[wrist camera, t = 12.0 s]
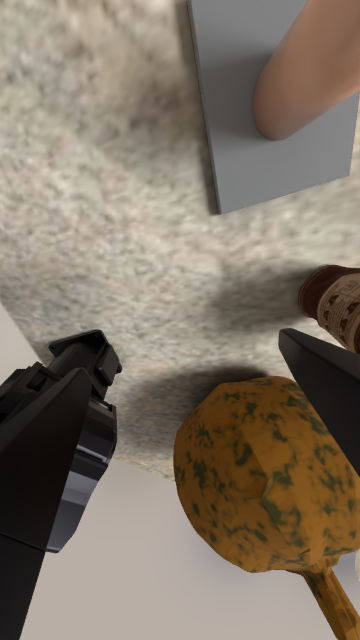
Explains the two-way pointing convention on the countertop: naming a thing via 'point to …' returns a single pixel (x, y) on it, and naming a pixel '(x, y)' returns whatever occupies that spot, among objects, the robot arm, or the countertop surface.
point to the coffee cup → (335, 303)
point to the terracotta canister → (309, 68)
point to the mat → (236, 107)
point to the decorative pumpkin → (271, 488)
